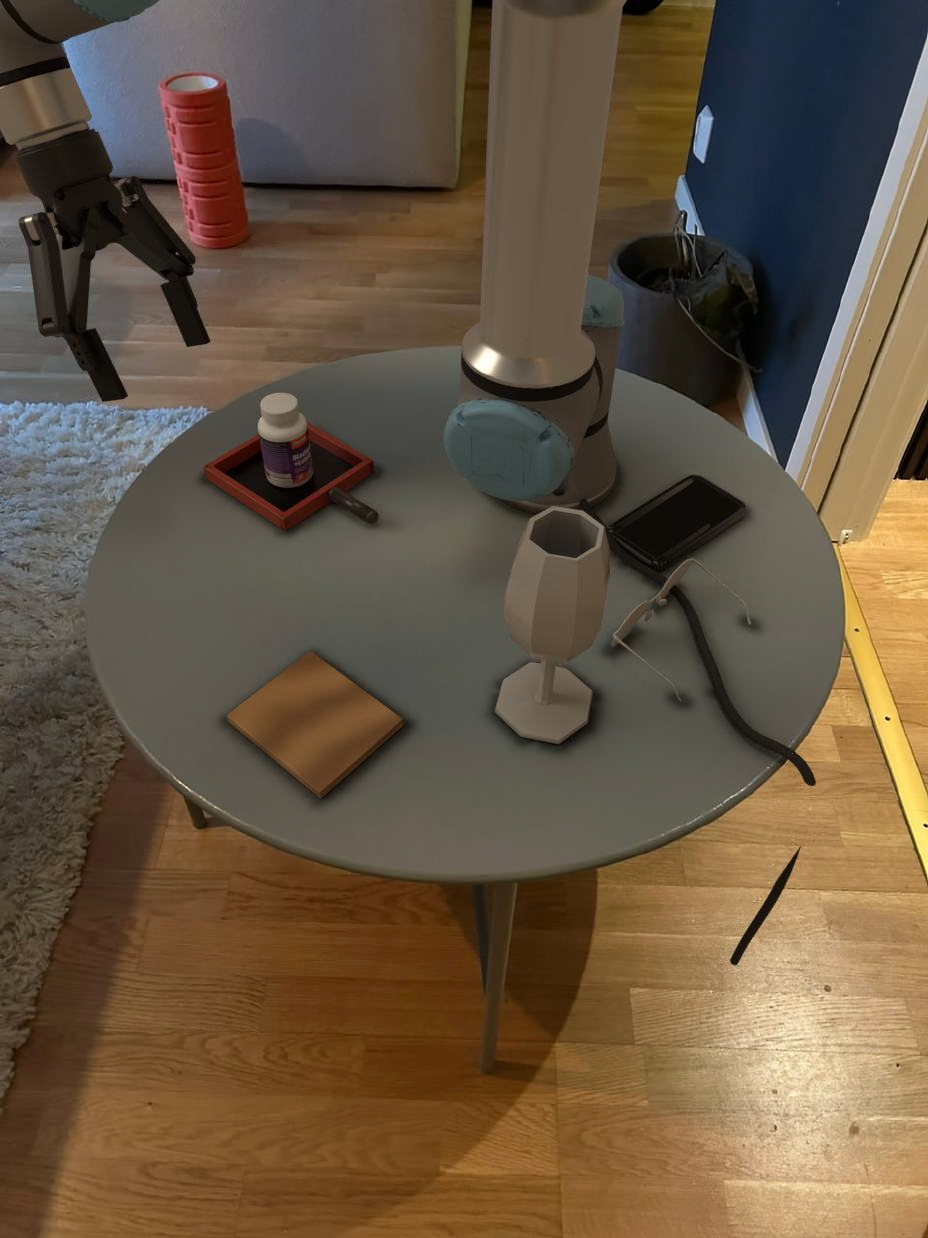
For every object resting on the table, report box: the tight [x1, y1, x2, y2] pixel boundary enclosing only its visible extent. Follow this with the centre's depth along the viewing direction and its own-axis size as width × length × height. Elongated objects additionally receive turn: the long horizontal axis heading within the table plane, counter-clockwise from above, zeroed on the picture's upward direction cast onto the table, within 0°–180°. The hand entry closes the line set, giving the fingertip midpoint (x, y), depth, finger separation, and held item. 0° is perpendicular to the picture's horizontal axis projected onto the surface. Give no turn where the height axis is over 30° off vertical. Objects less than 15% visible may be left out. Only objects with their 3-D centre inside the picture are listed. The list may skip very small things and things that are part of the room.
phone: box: [607, 474, 746, 573], centre depth 98 cm, size 8×1×15 cm
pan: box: [202, 421, 380, 532], centre depth 102 cm, size 21×14×2 cm, turn 49°
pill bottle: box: [257, 392, 313, 488], centre depth 100 cm, size 5×5×10 cm
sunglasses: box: [611, 557, 752, 702], centre depth 86 cm, size 14×8×5 cm, turn 139°
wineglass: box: [494, 506, 611, 745], centre depth 74 cm, size 9×9×21 cm
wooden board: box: [226, 650, 404, 799], centre depth 80 cm, size 12×10×1 cm
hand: (159, 370), depth 90 cm, fingers open, 13 cm apart
